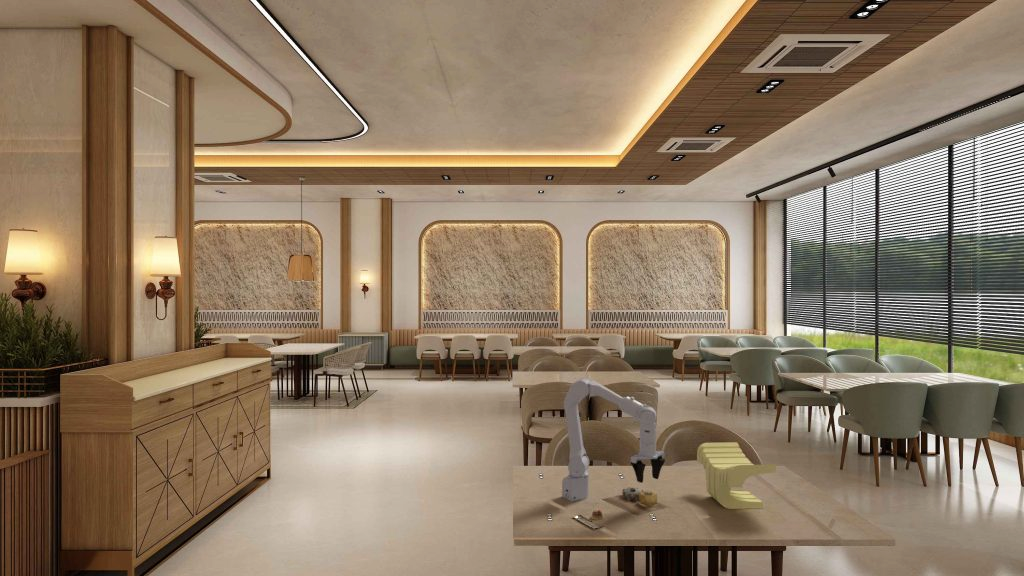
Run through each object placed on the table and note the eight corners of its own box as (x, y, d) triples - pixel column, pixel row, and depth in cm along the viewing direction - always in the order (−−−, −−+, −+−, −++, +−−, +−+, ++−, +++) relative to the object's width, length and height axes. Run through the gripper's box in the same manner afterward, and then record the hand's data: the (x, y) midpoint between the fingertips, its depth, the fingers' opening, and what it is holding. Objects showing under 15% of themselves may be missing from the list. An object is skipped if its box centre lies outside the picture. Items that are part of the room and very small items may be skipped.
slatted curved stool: (697, 488, 231) (697, 442, 232) (737, 488, 232) (737, 442, 233) (729, 518, 202) (729, 465, 202) (775, 517, 202) (775, 464, 203)
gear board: (636, 518, 201) (636, 503, 201) (601, 502, 216) (601, 488, 216) (668, 509, 209) (668, 495, 209) (632, 494, 224) (632, 481, 224)
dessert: (622, 524, 197) (623, 510, 197) (593, 532, 191) (593, 516, 191) (600, 513, 207) (600, 499, 207) (571, 519, 201) (571, 505, 201)
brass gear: (648, 507, 209) (648, 496, 209) (637, 502, 213) (637, 492, 213) (658, 504, 211) (658, 494, 211) (648, 500, 215) (648, 490, 215)
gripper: (640, 447, 205) (640, 486, 205) (670, 441, 213) (670, 479, 213) (626, 442, 211) (626, 481, 211) (656, 437, 219) (656, 474, 219)
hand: (647, 480), depth 212 cm, fingers open, 7 cm apart
